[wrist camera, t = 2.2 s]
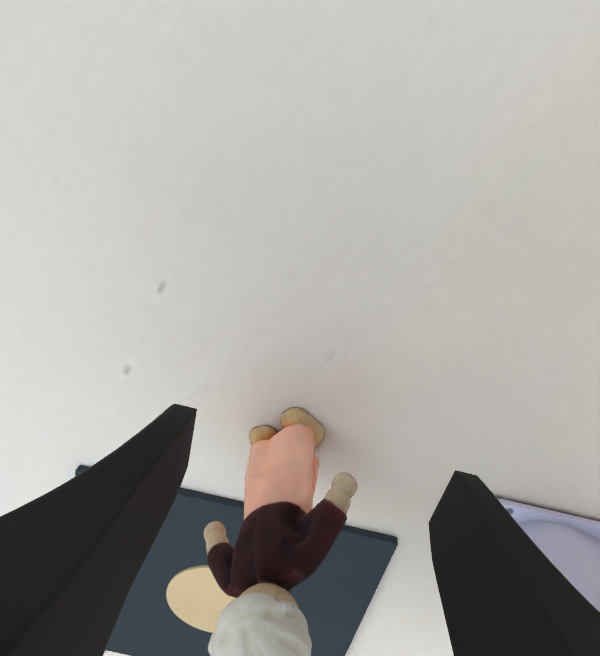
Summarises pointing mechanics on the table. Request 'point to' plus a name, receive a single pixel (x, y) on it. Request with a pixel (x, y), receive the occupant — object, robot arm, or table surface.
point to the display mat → (209, 600)
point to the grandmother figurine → (275, 541)
